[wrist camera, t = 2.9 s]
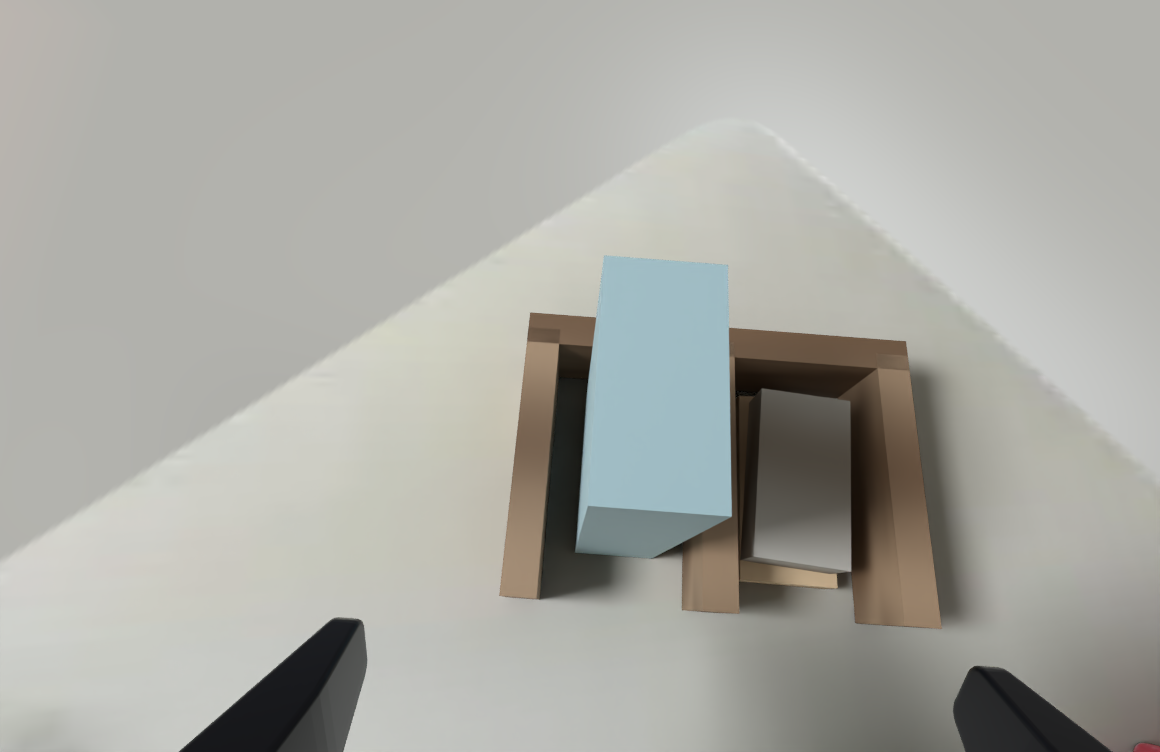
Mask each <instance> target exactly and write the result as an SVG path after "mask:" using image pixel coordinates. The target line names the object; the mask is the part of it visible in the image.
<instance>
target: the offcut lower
mask: <svg viewBox="0 0 1160 752" xmlns="http://www.w3.org/2000/svg"><path fill="white" fill-rule="evenodd" d="M753 398H754V397H752V396H740V395H739V396H738V397H737V399H736V400H735V409H736V462H737V515H738V569H739V581H740V582H752V583H763V584H774V585H785V586H797V587H808V588H819V589H835V588H837V573H836V574H826V573H820V572H813V571H807V570H800V569H794V568H788V567H781V566H775V565H768V564H762V563H755V562H749V561H743V560H740V556H741V539H742V521H743V503H744V486H745V468H746V450H747V433H748V415H749V402H750V401H751V400H752V399H753Z"/></svg>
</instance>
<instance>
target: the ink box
mask: <svg viewBox="0 0 1160 752" xmlns="http://www.w3.org/2000/svg"><path fill="white" fill-rule="evenodd" d="M1133 752H1160V746H1157V745H1153V744H1148V743H1138V744H1137V745H1136V746H1135V748H1134V751H1133Z"/></svg>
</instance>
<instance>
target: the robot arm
mask: <svg viewBox="0 0 1160 752" xmlns="http://www.w3.org/2000/svg"><path fill="white" fill-rule="evenodd" d="M366 668H367V651H366V641H365V631H364V625H363V622H362V621H361V620H359V619H353V618H340V617H338V618H334V619H332V620H330V621H329V622H328V623H327V624H325V625H324V626H323V627H322V628H321V629H320V630H318V631H317V632H316V633H315V634H314V635H313V636H312V637H310V638H309V639H308V640H307V641H306V642H305V643H303V644H302V645H301V646H300V647H299V648H298V649H297V650H295V651H294V652H293V653H292V654H291V655H290V656H289V657H287V658H286V659H285V660H284V661H283V662H282V663H280V664H279V665H278V666H277V667H276V668H275V669H274V670H272V671H271V672H270V673H269V674H268V675H267V676H265V677H264V678H263V679H262V680H261V681H260V682H259V683H257V684H256V685H255V686H254V687H253V688H252V689H251V690H249V691H248V692H247V693H246V694H245V695H244V696H242V697H241V698H240V699H239V700H238V701H237V702H236V703H234V704H233V705H232V706H231V707H230V708H229V709H227V710H226V711H225V712H224V713H223V714H222V715H221V716H219V717H218V718H217V719H216V720H215V721H214V722H213V723H211V724H210V725H209V726H208V727H207V728H206V729H204V730H203V731H202V732H201V733H200V734H199V735H198V736H196V737H195V738H194V739H193V740H192V741H191V742H189V743H188V744H187V745H186V746H185V747H184V748H183V749H181V750H180V751H179V752H343V750H344V747H345V743H346V740H347V736H348V733H349V730H350V726H351V723H352V719H353V716H354V712H355V709H356V705H357V702H358V698H359V695H360V691H361V688H362V684H363V681H364V677H365V673H366ZM953 713H954V719H955V723H956V725H957V728H958V731H959V734H960V737H961V740H962V743H963V746H964V749H965V751H966V752H1112V751H1111V750H1109V749H1108V748H1107V747H1106V746H1104V745H1103V744H1102V743H1100V742H1099V741H1098V740H1096V739H1095V738H1094V737H1093V736H1091V735H1090V734H1089V733H1087V732H1086V731H1085V730H1084V729H1082V728H1081V727H1080V726H1078V725H1077V724H1076V723H1074V722H1073V721H1072V720H1071V719H1069V718H1068V717H1067V716H1065V715H1064V714H1063V713H1061V712H1060V711H1059V710H1058V709H1056V708H1055V707H1054V706H1052V705H1051V704H1050V703H1049V702H1047V701H1046V700H1045V699H1043V698H1042V697H1041V696H1039V695H1038V694H1037V693H1036V692H1034V691H1033V690H1032V689H1030V688H1029V687H1028V686H1026V685H1025V684H1024V683H1023V682H1021V681H1020V680H1019V679H1017V678H1016V677H1015V676H1014V675H1012V674H1011V673H1009V672H1008V671H1007V670H1005V669H1002V668H998V667H986V666H974V667H973V668H971V669H970V670H969V672H968V674H967V676H966V678H965V680H964V682H963V684H962V686H961V688H960V691H959V693H958V695H957V697H956V699H955V702H954V707H953Z"/></svg>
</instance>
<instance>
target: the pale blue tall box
mask: <svg viewBox="0 0 1160 752" xmlns="http://www.w3.org/2000/svg"><path fill="white" fill-rule="evenodd" d="M730 517H732V499H731V436H730V372H729V308H728V265H721V264H708V263H695V262H682V261H669V260H656V259H643V258H630V257H617V256H604V260H603V268H602V276H601V284H600V292H599V300H598V308H597V316H596V324H595V332H594V340H593V348H592V356H591V364H590V372H589V379H588V387H587V395H586V403H585V415H584V430H583V444H582V458H581V472H580V486H579V500H578V515H577V529H576V543H575V553H585V554H598V555H611V556H624V557H638V558H651V559H652V558H654V557H656V556H657V555H659V554H661V553H663V552H665V551H667V550H669V549H671V548H673V547H675V546H677V545H679V544H680V543H682V542H684V541H686V540H688V539H690V538H692V537H694V536H696V535H698V534H700V533H701V532H703V531H705V530H707V529H709V528H711V527H713V526H715V525H717V524H719V523H721V522H723V521H724V520H726V519H728V518H730Z"/></svg>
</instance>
